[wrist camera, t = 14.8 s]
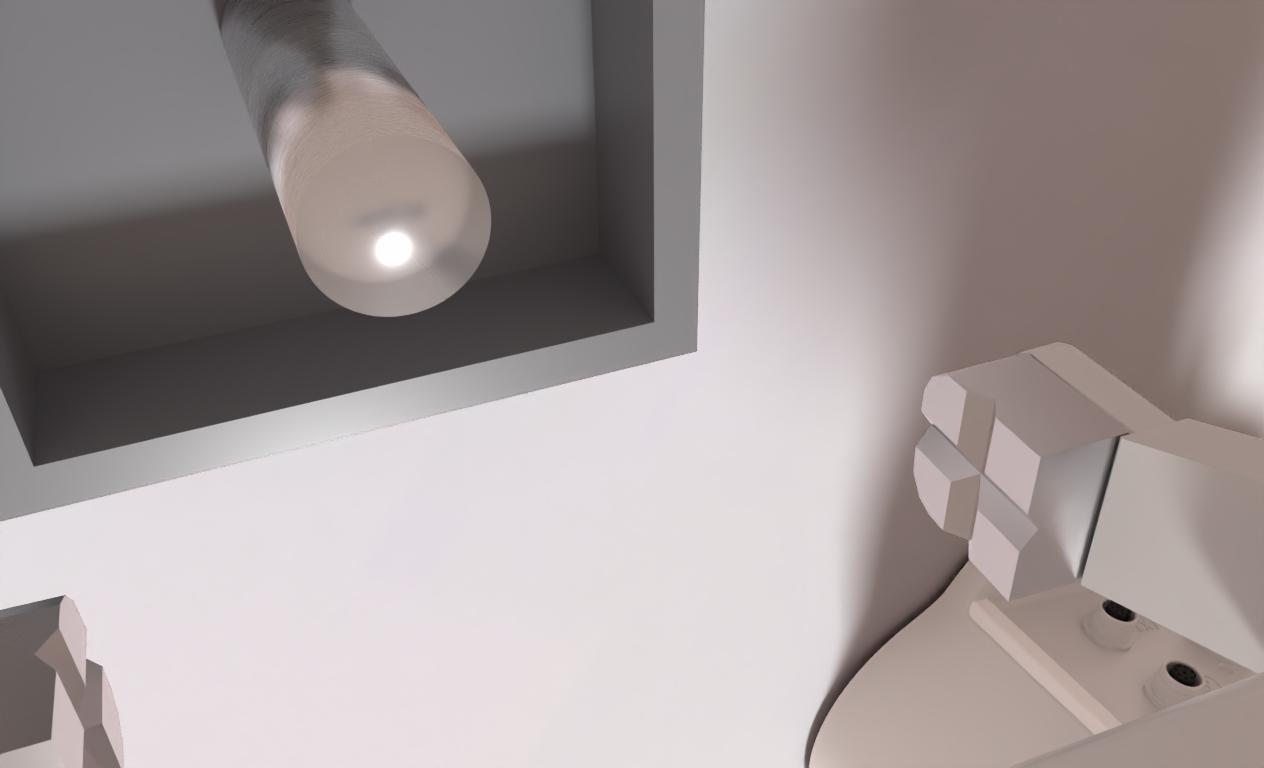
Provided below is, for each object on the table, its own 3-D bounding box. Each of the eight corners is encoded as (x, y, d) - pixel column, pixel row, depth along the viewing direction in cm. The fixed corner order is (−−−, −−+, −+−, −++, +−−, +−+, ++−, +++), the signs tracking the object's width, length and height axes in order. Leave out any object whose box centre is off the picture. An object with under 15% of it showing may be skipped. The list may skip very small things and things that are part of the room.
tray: (613, -444, 19) (714, -449, 16) (627, 267, 28) (696, 351, 25) (-351, -431, 15) (-455, -435, 12) (1, 402, 23) (-9, 523, 20)
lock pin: (343, -45, 21) (480, 120, 14) (365, 84, 22) (499, 294, 15) (206, -28, 20) (277, 155, 13) (237, 104, 21) (317, 334, 14)
